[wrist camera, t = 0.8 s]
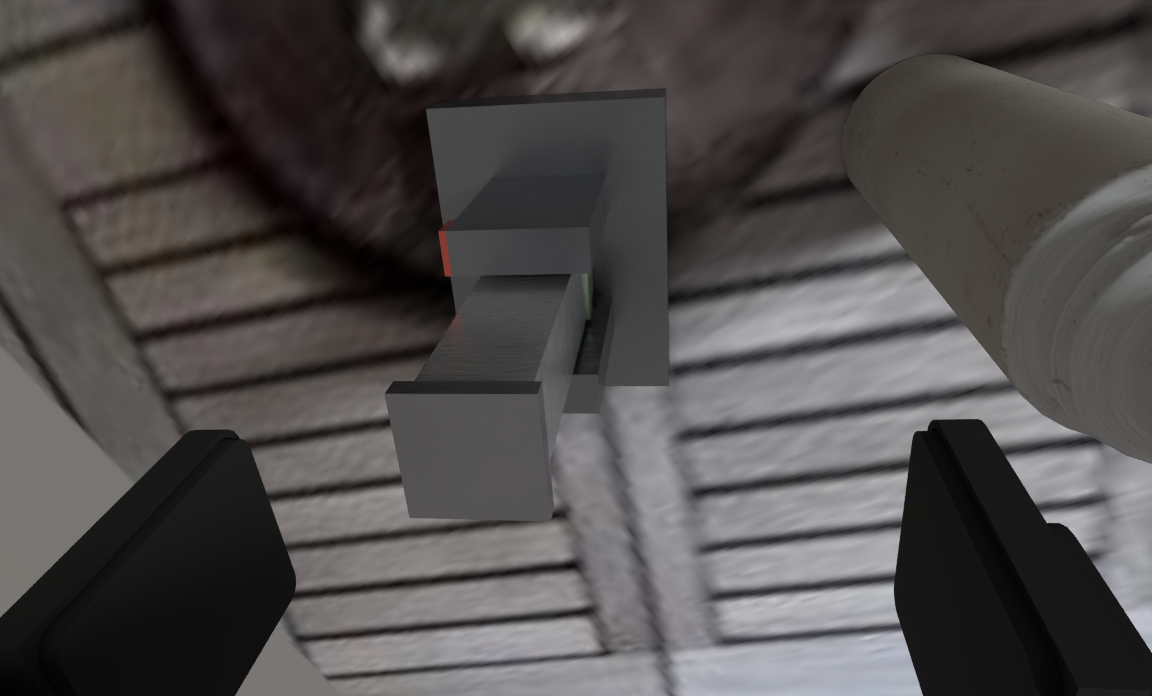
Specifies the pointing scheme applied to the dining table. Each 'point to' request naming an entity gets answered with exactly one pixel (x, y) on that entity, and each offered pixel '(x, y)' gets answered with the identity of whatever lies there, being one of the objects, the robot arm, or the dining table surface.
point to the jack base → (565, 215)
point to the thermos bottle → (1023, 228)
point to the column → (492, 401)
